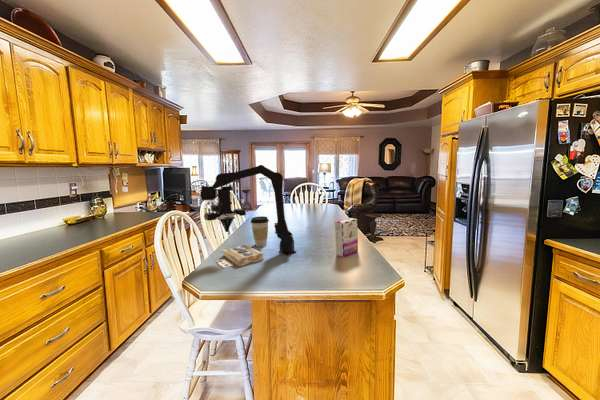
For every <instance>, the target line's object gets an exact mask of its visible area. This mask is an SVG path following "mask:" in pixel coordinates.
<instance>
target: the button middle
mask: <svg viewBox="0 0 600 400" xmlns="http://www.w3.org/2000/svg"><path fill="white" fill-rule="evenodd" d="M245 252H246V249H245V248H239V253H240V254H241V253H245Z"/></svg>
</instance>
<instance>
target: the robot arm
mask: <svg viewBox="0 0 600 400" xmlns="http://www.w3.org/2000/svg"><path fill="white" fill-rule="evenodd" d="M256 175H262V176H264V177H265V178H268V179H269V180H270V182H271V184H272V185H271V186H272V189H273V193H274V199H275V209H276V218H277V222H274V229H275V231H274V232H275V233H274V234H275V235H276V236H277V238H279V250H278V253H279V254H282V255H285V256H288V255H291V254H296V253H297V251H296V250H295V239H294V237H293V233H292V232H291V231H290V230H289V227H288V223H287V222H286V216H285V207H284V206H285V205H284V199H283V197H284V196H283V185H284V184H283V183H284V178H283V177H284V176H283V174H282V173H281V172H279V171H276V172H275V171H273V170H271V169H269V168H268V167H266V166H265V165H263V164H259V165H257V166H254V167H250V168H245V169H242V170H237V171H234V172H224V173H219V174H217V175H216V177H215V182H214V183H213V184H212V186H211V185H209V186H207V185H202V186H201V190H200V199H201V201H203V202H204V201H215V200H216V199H217V200H218V201H217V203H216V204H215V203H214V204H211V205H210V210H211V212H206V213H204V215H203V217H204V220H205V221H209V222H210V221H215V220H218V221H220V223H221V225H222V226H223V229H224V231H225V232H226V233H228V232H229V229H230V227H231V224H232V223H233V220H234V219H236V217H235V215H238V216H241V217H242V216H246V215H247V214H246V213H247V211H246V209H244V208H235V209H233V210H232V204H233V202H232V199H231V191H234V190H235V187H234V186H233V185H232V184H231V183H234V182H236V181H238V180H241V179H244V178H249V177H252V176H256ZM226 185H228V186H226ZM220 187H221V188H220Z"/></svg>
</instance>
